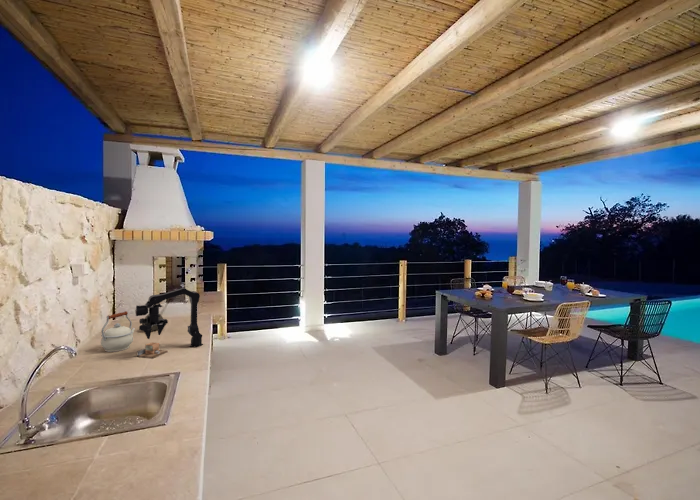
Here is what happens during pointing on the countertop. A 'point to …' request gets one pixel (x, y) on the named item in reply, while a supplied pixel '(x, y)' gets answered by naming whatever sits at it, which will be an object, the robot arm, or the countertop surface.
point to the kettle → (117, 335)
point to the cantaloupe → (155, 325)
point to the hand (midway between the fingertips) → (153, 336)
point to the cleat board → (156, 354)
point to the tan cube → (151, 348)
